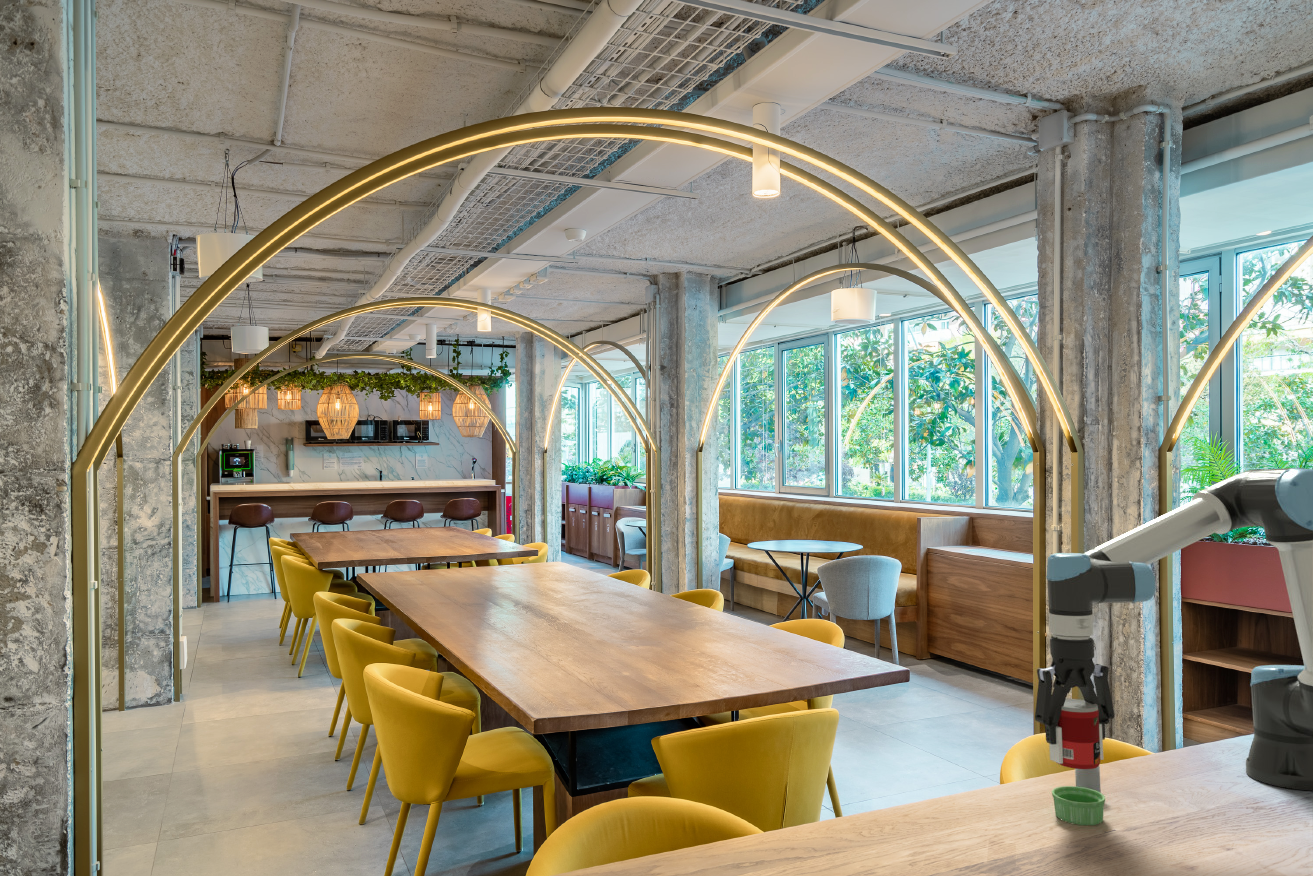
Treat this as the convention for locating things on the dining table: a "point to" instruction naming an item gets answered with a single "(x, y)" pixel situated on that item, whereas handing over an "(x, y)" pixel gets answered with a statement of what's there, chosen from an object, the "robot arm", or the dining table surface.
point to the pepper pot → (1088, 778)
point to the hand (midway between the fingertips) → (1076, 759)
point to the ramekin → (1078, 805)
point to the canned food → (1080, 734)
